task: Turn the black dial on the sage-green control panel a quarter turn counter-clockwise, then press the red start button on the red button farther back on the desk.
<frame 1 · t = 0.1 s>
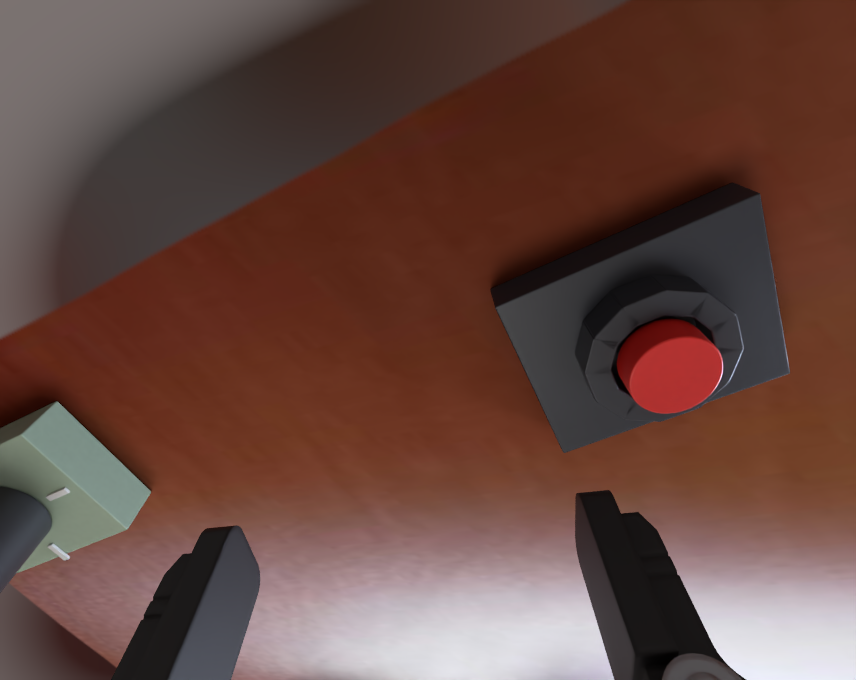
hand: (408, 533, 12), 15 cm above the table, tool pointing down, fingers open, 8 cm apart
start button: (667, 366, 23), point 4 cm above the table, slide at 0.1 cm
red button: (632, 321, 27), on the table
dial panel: (46, 475, 32), on the table
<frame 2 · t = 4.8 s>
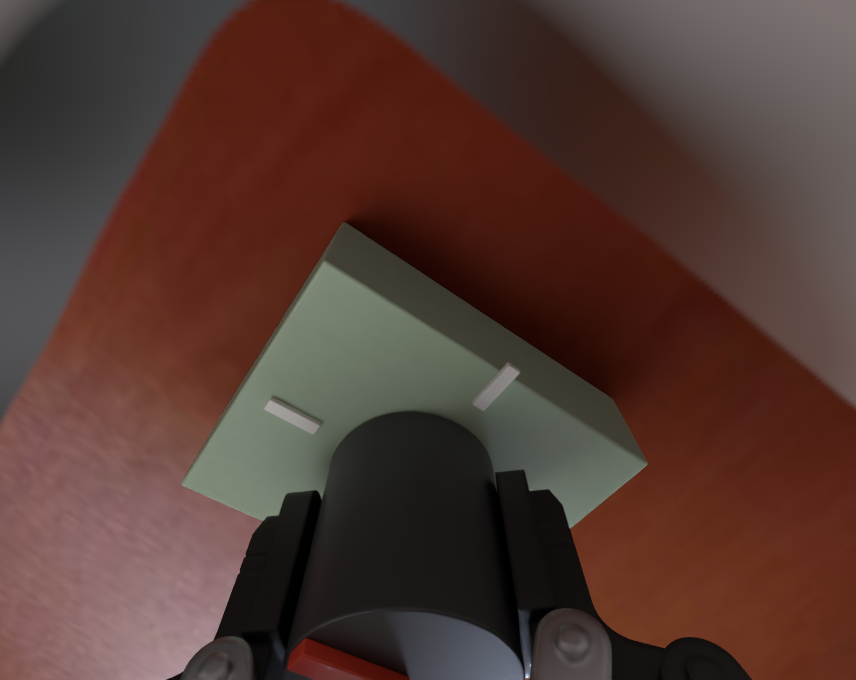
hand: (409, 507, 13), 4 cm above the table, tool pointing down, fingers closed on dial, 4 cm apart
dial: (408, 565, 11), point 6 cm above the table, hinge at 0.2°, touching gripper
dial panel: (414, 408, 16), on the table
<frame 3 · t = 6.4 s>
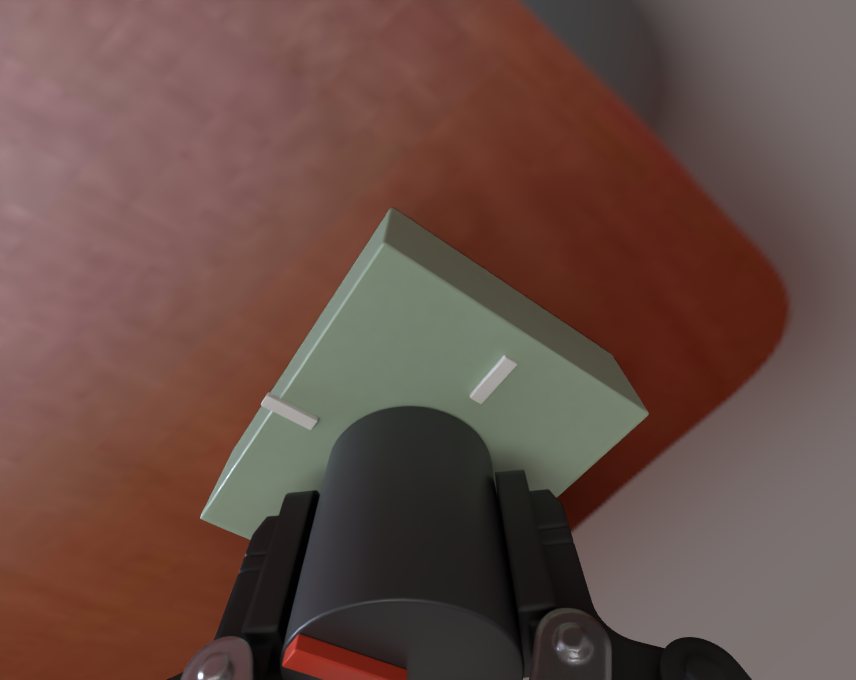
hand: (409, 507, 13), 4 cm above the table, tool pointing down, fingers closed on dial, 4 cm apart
dial: (406, 559, 11), point 6 cm above the table, hinge at 93.1°, touching gripper
dial panel: (412, 404, 16), on the table
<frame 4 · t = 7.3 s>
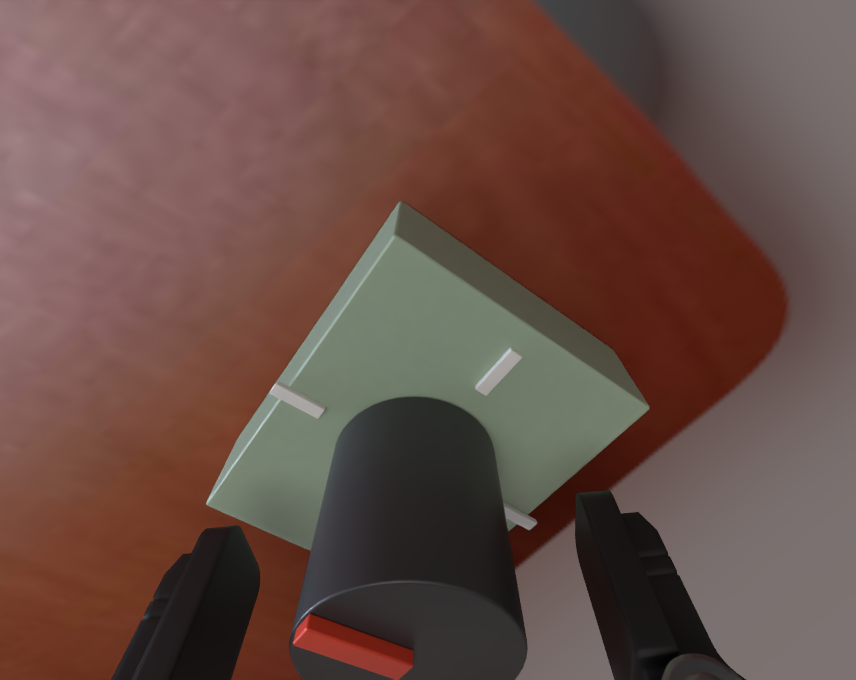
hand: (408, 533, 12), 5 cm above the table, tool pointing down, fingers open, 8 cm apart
dial: (412, 545, 11), point 6 cm above the table, hinge at 93.1°
dial panel: (416, 396, 17), on the table
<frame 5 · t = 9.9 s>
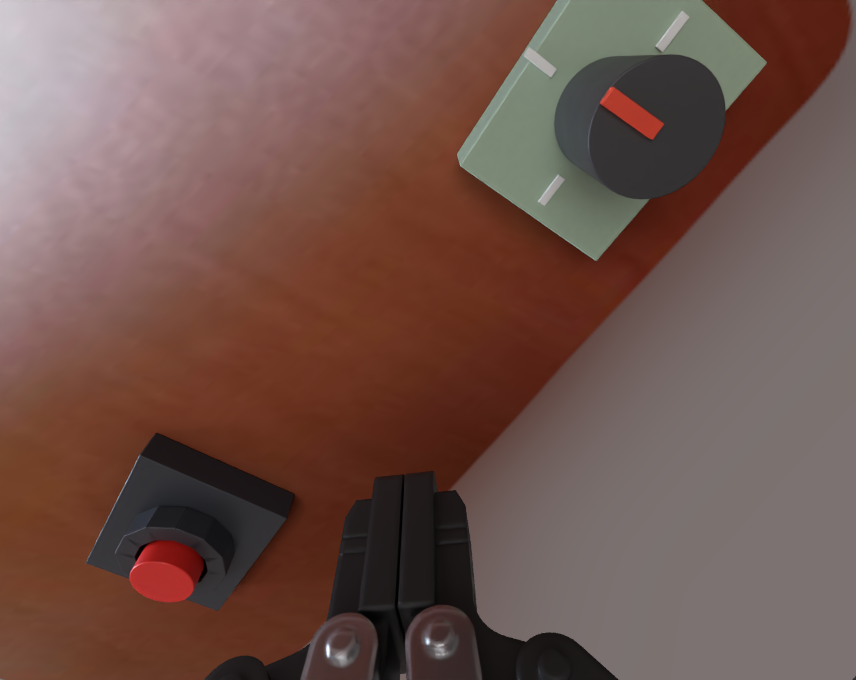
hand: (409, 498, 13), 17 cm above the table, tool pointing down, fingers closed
start button: (167, 571, 33), point 4 cm above the table, slide at 0.1 cm
dial: (630, 123, 19), point 6 cm above the table, hinge at 93.1°
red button: (195, 516, 37), on the table
dial panel: (587, 110, 24), on the table
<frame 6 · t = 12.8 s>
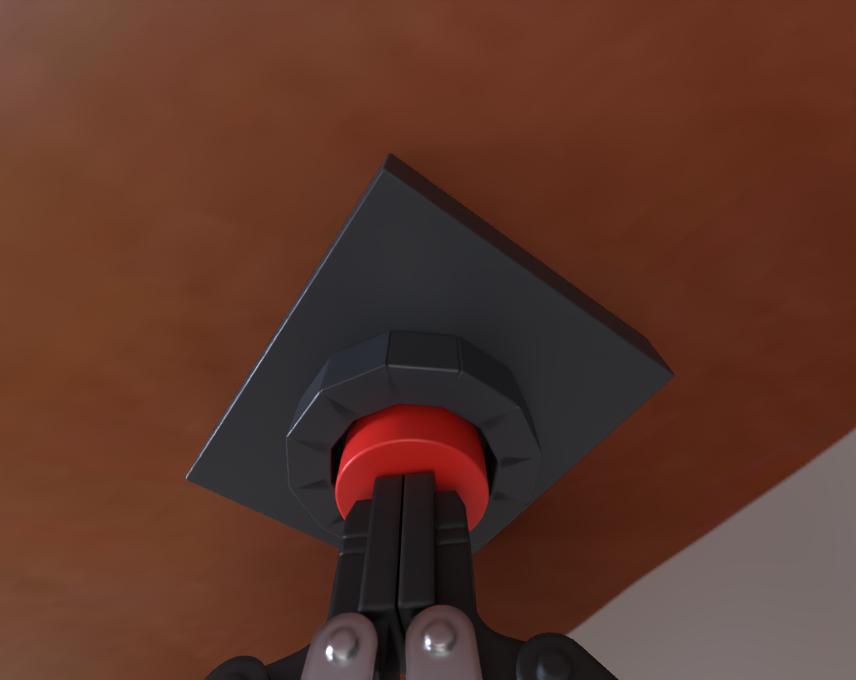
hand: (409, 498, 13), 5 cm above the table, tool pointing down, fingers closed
start button: (412, 475, 14), point 4 cm above the table, slide at -0.3 cm, touching gripper
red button: (416, 390, 17), on the table
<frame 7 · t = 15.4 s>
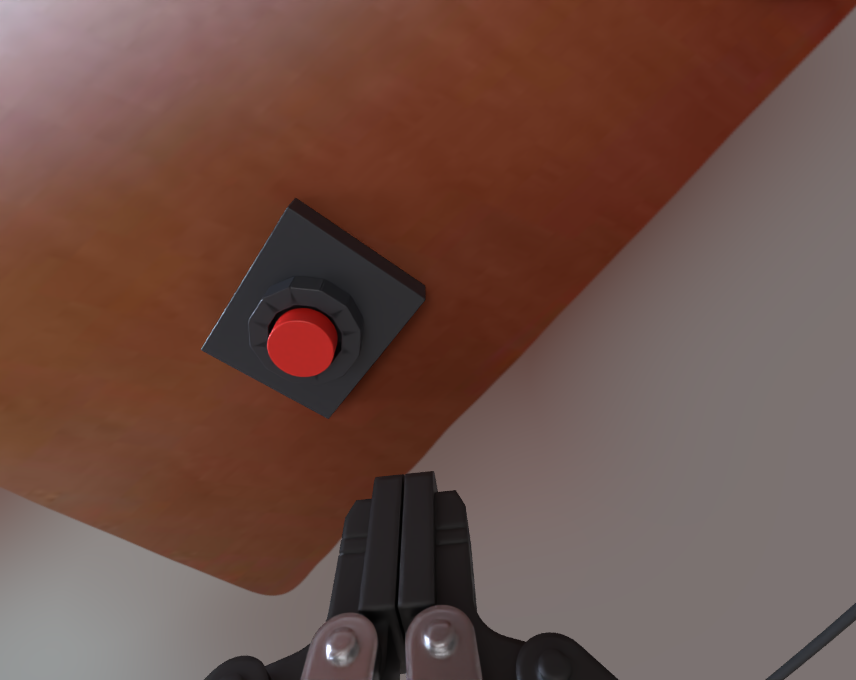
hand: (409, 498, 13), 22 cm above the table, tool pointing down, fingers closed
start button: (303, 342, 31), point 4 cm above the table, slide at 0.1 cm
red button: (316, 310, 35), on the table
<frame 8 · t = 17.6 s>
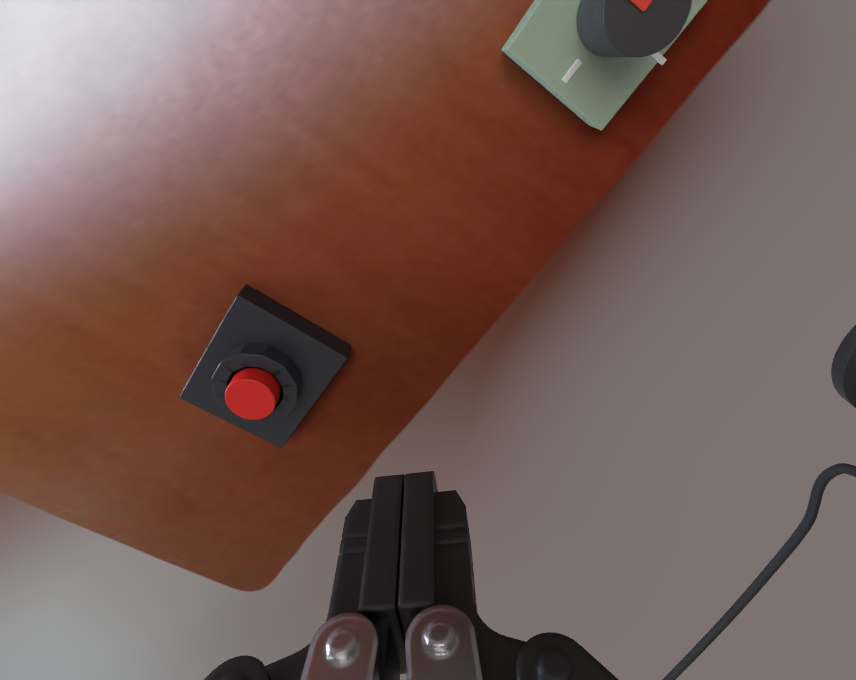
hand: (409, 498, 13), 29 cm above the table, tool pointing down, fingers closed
start button: (253, 393, 41), point 4 cm above the table, slide at 0.1 cm
dial: (630, 10, 27), point 6 cm above the table, hinge at 93.1°
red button: (268, 364, 45), on the table
dial panel: (598, 18, 32), on the table
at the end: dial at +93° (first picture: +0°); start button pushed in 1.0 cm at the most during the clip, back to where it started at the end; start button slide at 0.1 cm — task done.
